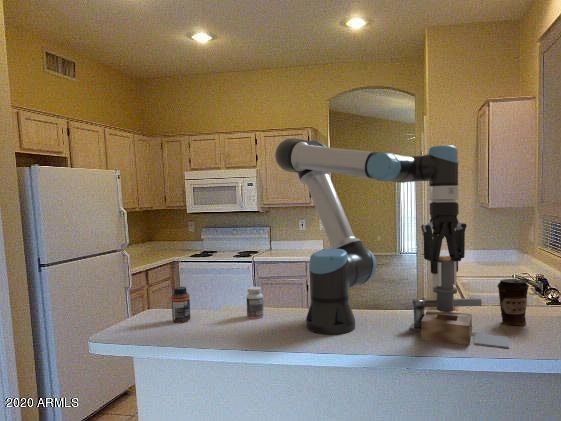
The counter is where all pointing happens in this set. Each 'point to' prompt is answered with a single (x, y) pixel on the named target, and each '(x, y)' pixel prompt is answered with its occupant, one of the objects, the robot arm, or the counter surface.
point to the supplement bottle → (180, 305)
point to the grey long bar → (456, 302)
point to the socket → (447, 327)
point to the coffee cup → (513, 301)
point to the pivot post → (417, 319)
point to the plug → (445, 285)
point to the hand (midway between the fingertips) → (444, 284)
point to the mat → (491, 340)
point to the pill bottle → (255, 303)
